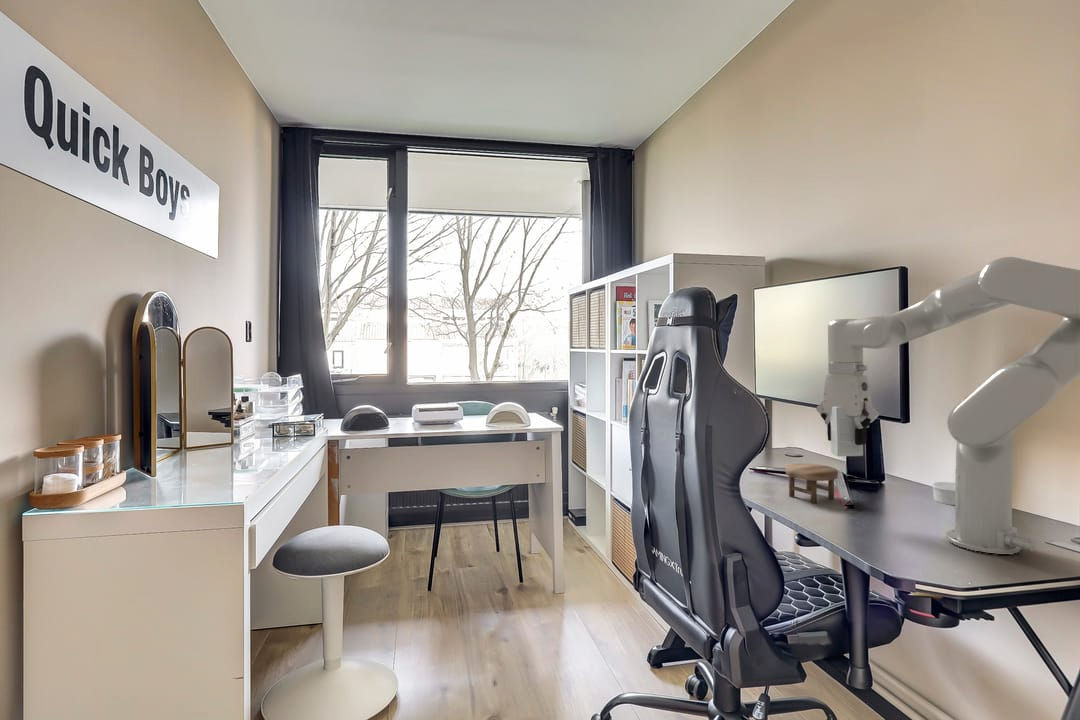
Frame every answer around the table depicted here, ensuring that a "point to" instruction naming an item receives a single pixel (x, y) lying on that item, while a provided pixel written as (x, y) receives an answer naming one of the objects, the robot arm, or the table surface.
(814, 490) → the walnut stool
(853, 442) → the skincare box
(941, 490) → the ramekin
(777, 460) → the table surface
